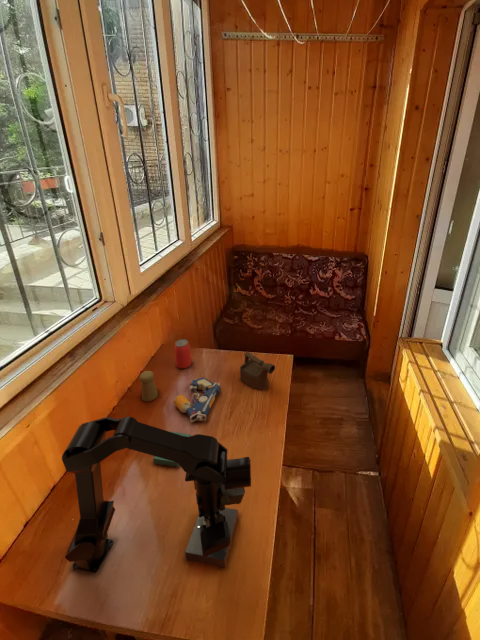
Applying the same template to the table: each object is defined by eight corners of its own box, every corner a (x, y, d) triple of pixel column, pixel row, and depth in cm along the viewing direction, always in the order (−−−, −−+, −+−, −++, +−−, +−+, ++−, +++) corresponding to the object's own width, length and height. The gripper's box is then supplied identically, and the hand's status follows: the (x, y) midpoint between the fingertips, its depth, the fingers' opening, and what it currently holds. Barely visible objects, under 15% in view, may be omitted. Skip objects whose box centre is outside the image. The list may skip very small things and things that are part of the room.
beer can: (175, 361, 145) (173, 340, 141) (190, 358, 148) (188, 336, 143) (177, 370, 139) (174, 348, 135) (192, 366, 142) (190, 344, 138)
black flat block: (225, 567, 75) (224, 559, 74) (186, 559, 76) (184, 551, 75) (238, 516, 85) (237, 509, 84) (203, 510, 87) (202, 503, 85)
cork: (138, 399, 124) (134, 377, 120) (148, 388, 129) (145, 367, 125) (151, 402, 122) (147, 380, 118) (161, 391, 127) (157, 370, 124)
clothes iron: (264, 398, 125) (264, 371, 121) (239, 378, 135) (238, 353, 131) (278, 387, 131) (278, 361, 126) (252, 369, 141) (252, 344, 136)
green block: (177, 467, 98) (176, 458, 97) (154, 463, 99) (152, 454, 98) (191, 439, 107) (190, 430, 106) (169, 436, 108) (168, 427, 107)
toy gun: (165, 420, 114) (204, 426, 112) (164, 411, 113) (203, 417, 111) (190, 381, 134) (223, 386, 132) (190, 373, 132) (223, 378, 130)
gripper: (251, 512, 69) (253, 555, 74) (232, 441, 85) (235, 480, 90) (200, 534, 65) (205, 577, 70) (190, 455, 81) (195, 495, 86)
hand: (212, 527), depth 79 cm, fingers closed on nozzle dial, 4 cm apart
